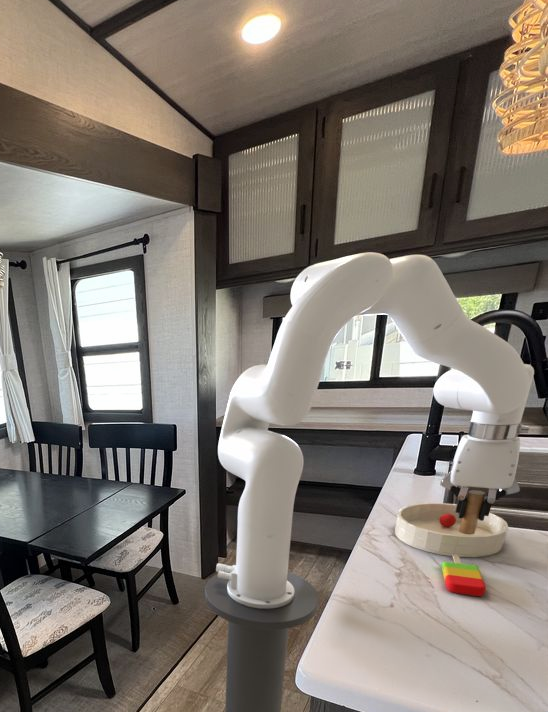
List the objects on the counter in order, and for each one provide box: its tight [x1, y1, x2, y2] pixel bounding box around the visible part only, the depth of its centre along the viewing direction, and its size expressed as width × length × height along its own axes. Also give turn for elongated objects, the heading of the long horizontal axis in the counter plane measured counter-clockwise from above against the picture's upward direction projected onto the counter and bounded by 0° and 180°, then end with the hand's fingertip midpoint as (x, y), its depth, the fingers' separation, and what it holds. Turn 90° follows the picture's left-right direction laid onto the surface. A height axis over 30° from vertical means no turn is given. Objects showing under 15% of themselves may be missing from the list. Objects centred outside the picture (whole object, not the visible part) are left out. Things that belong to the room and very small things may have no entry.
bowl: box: [394, 502, 509, 558], centre depth 102 cm, size 19×19×4 cm
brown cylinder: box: [459, 489, 486, 535], centre depth 99 cm, size 3×3×9 cm
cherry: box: [439, 514, 456, 527], centre depth 105 cm, size 3×3×3 cm
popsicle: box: [441, 554, 487, 597], centre depth 88 cm, size 6×15×2 cm, turn 152°
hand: (470, 516), depth 99 cm, fingers closed on brown cylinder, 2 cm apart
